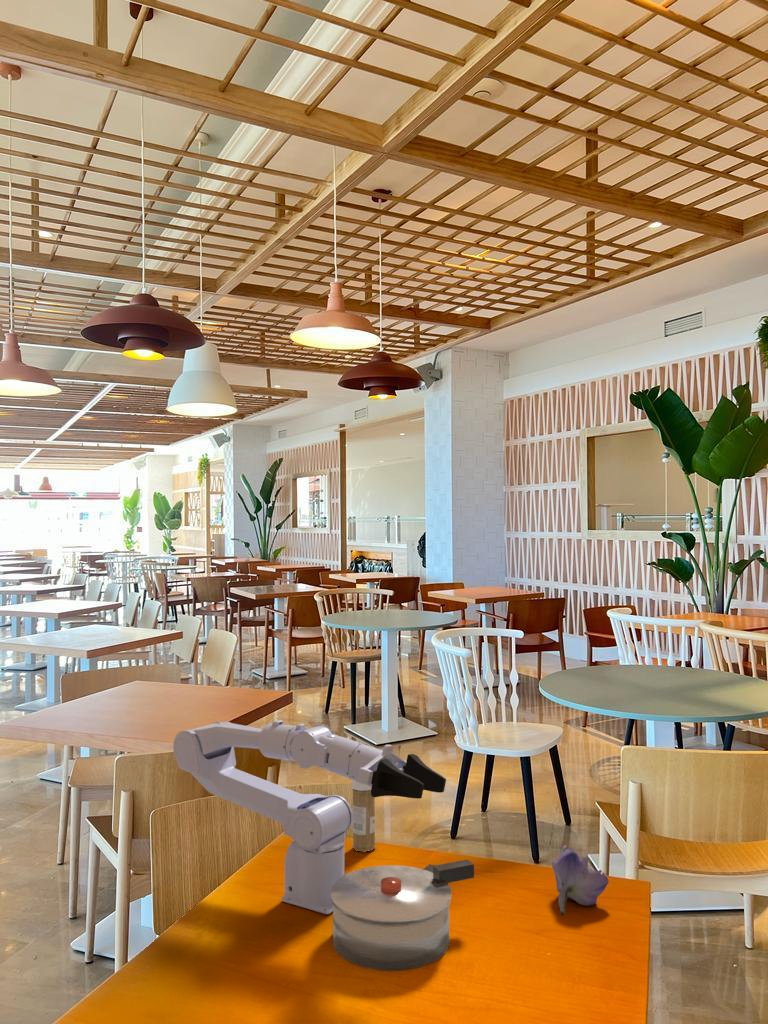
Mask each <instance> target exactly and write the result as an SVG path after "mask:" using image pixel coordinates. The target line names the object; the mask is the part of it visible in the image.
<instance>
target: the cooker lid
mask: <svg viewBox="0 0 768 1024" xmlns="http://www.w3.org/2000/svg"><path fill="white" fill-rule="evenodd" d="M423 869H424V868H423ZM423 869H422V868H419V867H415V866H414V867H413V866H408V865H399V864H398V865H397V864H396V865H395V864H394V865H392V864H390V865H388V864H387V865H385V864H384V865H375V866H368V867H364V868H358V869H356V870H353V871H351V872H348V873H346V874H344V876H342V877H340V878H339V879H338V880H337V881H336V882H335V883H334V884H333V886H332V889H331V900H332V903H333V905H334V906H335V907H336V908H337V909H338V910H339V911H340V912H342V913H343V914H345V915H347V916H349V917H352V918H354V919H357V920H361V921H365V922H370V923H377V924H406V923H413V922H418V921H422V920H426V919H429V918H431V917H434V916H436V915H438V914H439V913H441V912H443V911H444V910H445V909H446V908H447V907H448V906H449V907H450V904H451V901H452V888H451V885H450V884H449V883H454V882H459V881H464V880H471V879H474V878H475V864H474V863H473V862H471V861H470V860H469V859H464V860H459V861H457V860H456V861H452V862H447V863H442V864H436V866H433V873H432V872H430V871H427V870H423Z"/></svg>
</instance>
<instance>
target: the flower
mask: <svg viewBox="0 0 768 1024" xmlns="http://www.w3.org/2000/svg"><path fill="white" fill-rule="evenodd" d="M579 856H580V855H579V854H578V852H575V850H574V849H573V848H571V851H570V849H569V848H567V844H566V845H565V844H564V845H563V846H562V848H561V850H560V854H559V855H558V858H557V859H554V860H553V861H552V863H551V867H552V869H553V873H554V876H555V882H556V883H555V884H556V890H557V892H558V901H557V903H558V906H559V909H560V915H561V916H565V915H566V904H567V901H568V899H571V900H573V901H575V902H576V903H577V904H579V905H580V906H583V907H590V906H593V905H596V904H597V903H598V902H597V900H598V897H599V896H600V895H602V894H603V893H604V891H605V889H606V887H607V886H608V885H609V883H610V882H609V881H610V880H609V878H608V876H607V875H606V873H605V872H603V871H602V869H599V870H598V871H597V870H594V869H592V868H591V867H589V865H588V864H589V860H590V859H589V857H588V856H582V857H581V858H580V857H579Z"/></svg>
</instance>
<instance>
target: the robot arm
mask: <svg viewBox="0 0 768 1024" xmlns="http://www.w3.org/2000/svg"><path fill="white" fill-rule="evenodd" d="M172 747H173V749H172V751H173V755H174V758H175V761H176V763H177V766H178V769H179V770H183V771H185V772H187V773H188V774H191V775H192V776H193V777H194V778H195V779H196V780H197V781H198V783H199V784H200V785H202V787H203V788H204V789H205V790H206V791H207V792H208V793H209V794H211V795H213V796H216V797H218V798H221V799H223V800H226V801H228V802H230V803H232V804H235V805H238V806H240V807H242V808H245V809H247V810H249V811H252V812H254V813H257V814H259V815H261V816H263V817H266V818H269V819H271V820H273V821H276V822H278V823H280V824H282V827H283V833H284V835H285V836H287V837H289V838H291V839H292V840H293V841H292V842H291V843H290V844H289V846H288V848H287V851H286V853H285V857H284V895H283V896H282V897H281V902H284V903H287V904H290V905H293V906H294V905H295V906H297V907H300V908H303V909H308V910H311V911H314V912H317V913H320V914H323V915H330V914H331V913H333V903H332V900H331V889H332V886H333V884H334V883H335V882H336V881H337V880H338V879H339V878H340V877H342V876H344V875H345V840H346V839H347V832H348V831H349V830H350V829H351V827H352V826H353V808H352V807H351V805H350V804H351V803H349V801H348V800H347V798H344V797H343V796H341V795H339V794H332V795H323V794H321V793H300V792H298V791H295V790H292V789H290V788H287V787H284V786H283V785H279V784H276V783H274V782H272V781H269V780H266V779H264V778H260V777H258V776H256V775H253V774H250V773H248V772H246V771H242V770H241V769H238V768H236V766H237V760H236V753H235V752H236V751H235V748H243V749H244V748H245V749H256V750H257V749H258V750H259V751H260V753H261V754H262V756H264V757H265V758H267V759H269V758H270V759H275V760H283V761H290V762H296V763H298V764H299V768H300V769H304V770H305V769H310V768H312V767H315V766H316V767H318V768H321V769H322V770H325V771H329V772H331V773H333V774H336V775H338V776H342V777H344V778H347V779H350V780H351V781H352V780H354V781H357V782H360V783H362V784H365V785H368V786H370V787H372V788H371V796H372V797H375V798H379V797H400V798H401V797H402V798H408V799H417V800H418V799H422V797H423V794H424V791H428V792H432V793H444V792H445V788H446V784H447V783H446V782H447V778H446V777H444V776H443V775H441V774H440V773H438V772H437V771H435V770H433V769H432V768H430V767H429V766H427V765H426V764H425V763H424V762H423V761H422V759H421V758H420V757H419V756H418V755H416V754H414V753H409V754H407V757H406V760H405V759H402V758H401V757H399V756H397V755H396V754H395V753H394V752H393V751H394V746H393V745H392V744H385V745H384V746H383V749H380V748H376V747H373V746H371V745H367V744H364V743H362V742H359V741H355V740H353V739H351V738H347V737H345V736H340V735H337V734H336V733H335V732H334V730H333V729H332V728H330V727H329V726H327V725H323V724H321V723H319V724H316V725H314V726H313V727H310V728H309V727H306V724H305V723H298V724H296V725H292V724H291V725H290V724H284V720H282V719H277V720H276V719H275V720H274V721H272V722H271V723H268V724H267V725H265V726H264V727H263V728H259V727H253V726H250V725H243V724H238V723H233V722H230V721H224V722H222V721H215V722H212V723H210V724H207V725H204V726H199V727H196V728H191V729H184V730H181V731H178V732H177V734H176V735H175V737H174V739H173V746H172Z"/></svg>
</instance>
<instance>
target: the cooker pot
mask: <svg viewBox="0 0 768 1024" xmlns="http://www.w3.org/2000/svg"><path fill="white" fill-rule="evenodd" d="M436 865H437V864H436ZM436 865H435V864H430V863H429V864H428V865H426V866H425V867H424V868H423V870H427V871H430V872H432V873H433V866H436ZM332 925H333V926H332V932H333V933H332V934H333V935H332V943H333V948H334V950H335V951H336V953H337V954H338V955H339V956H341V957H342V958H343V959H344V960H345V961H348V962H350V963H352V964H353V965H356V966H359V967H361V968H362V967H363V968H365V969H369V970H370V969H371V970H376V971H385V972H386V971H387V972H390V971H391V972H394V971H395V972H397V971H407V970H413V969H417V968H421V967H424V966H427V965H430V964H431V963H433V962H437V960H439V959H440V958H441V957H443V956H444V955H445V953H446V952H447V951H448V949H449V947H450V905H449V906H448V907H447V908H446V909H445V910H444V911H443V912H441V913H439V914H438V915H436V916H434V917H431V918H429V919H426V920H422V921H418V922H413V923H406V924H377V923H370V922H365V921H361V920H357V919H354V918H352V917H349V916H347V915H345V914H343V913H342V912H340V911H339V910H338V909H337V908H336V907H335V906H334V905H333V912H332Z"/></svg>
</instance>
